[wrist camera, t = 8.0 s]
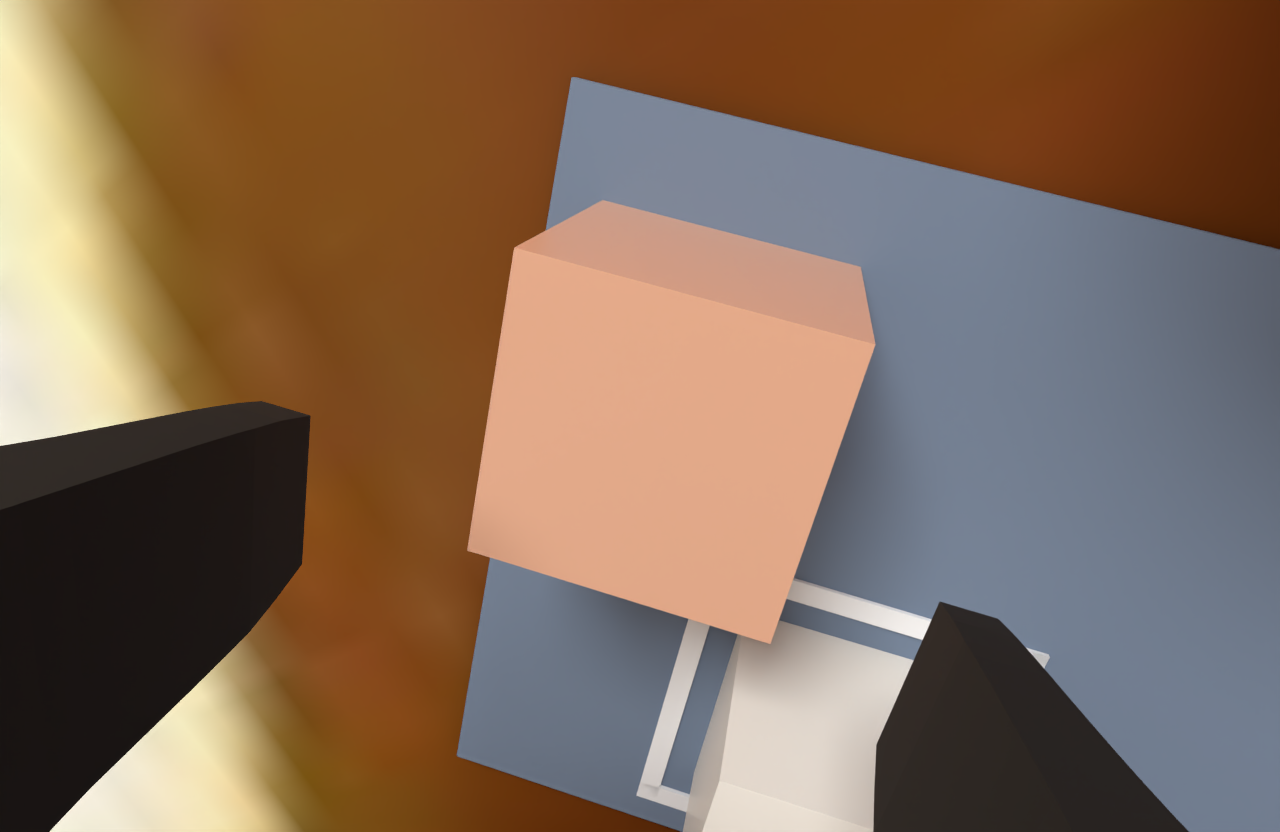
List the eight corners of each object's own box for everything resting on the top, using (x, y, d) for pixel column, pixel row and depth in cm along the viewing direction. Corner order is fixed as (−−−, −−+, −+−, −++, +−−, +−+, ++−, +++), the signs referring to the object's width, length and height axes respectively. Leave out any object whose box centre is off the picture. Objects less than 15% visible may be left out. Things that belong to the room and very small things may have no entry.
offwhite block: (894, 836, 20) (915, 1056, 16) (693, 772, 21) (657, 966, 16) (969, 676, 18) (1018, 875, 14) (745, 609, 19) (719, 780, 14)
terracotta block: (784, 497, 18) (770, 644, 13) (557, 431, 18) (467, 550, 13) (861, 266, 15) (874, 344, 11) (602, 199, 16) (514, 248, 11)
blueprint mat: (1189, 991, 20) (1195, 1007, 20) (460, 748, 22) (455, 758, 22) (1685, 348, 14) (1709, 356, 13) (576, 77, 16) (570, 77, 15)
